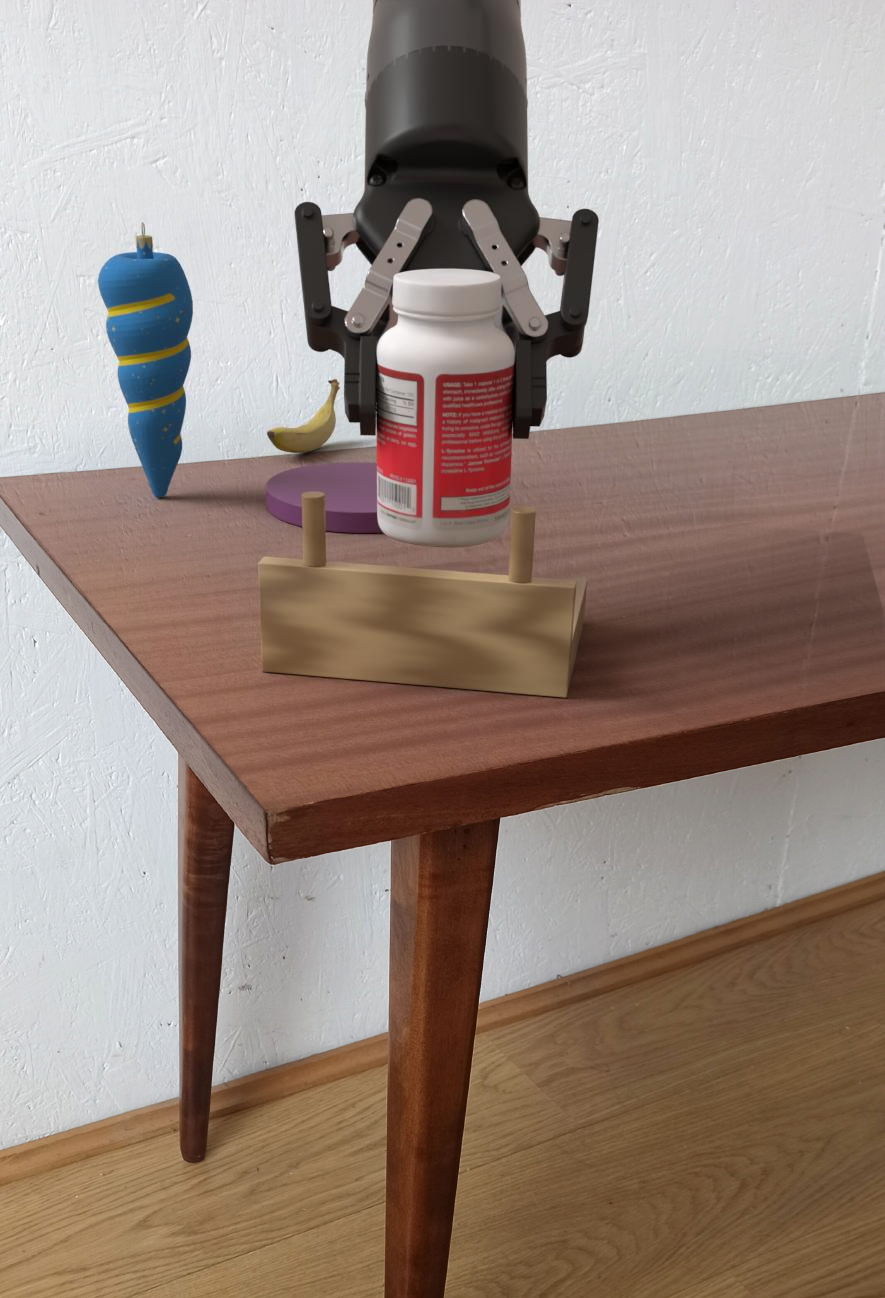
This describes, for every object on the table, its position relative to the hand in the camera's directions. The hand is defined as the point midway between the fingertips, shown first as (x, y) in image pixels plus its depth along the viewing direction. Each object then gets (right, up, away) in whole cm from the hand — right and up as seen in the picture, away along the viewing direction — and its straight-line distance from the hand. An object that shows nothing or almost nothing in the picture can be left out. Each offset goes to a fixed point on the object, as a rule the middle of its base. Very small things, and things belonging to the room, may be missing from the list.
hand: (445, 426), depth 67 cm
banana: (-9, +10, +35) cm, 38 cm away
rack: (-1, -9, +5) cm, 10 cm away
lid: (-5, +4, +24) cm, 25 cm away
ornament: (-17, +4, +25) cm, 31 cm away
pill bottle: (0, -4, +4) cm, 6 cm away
